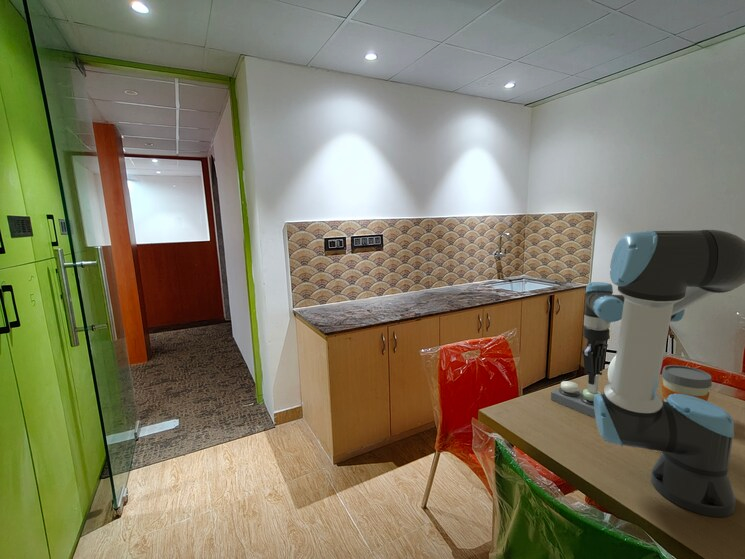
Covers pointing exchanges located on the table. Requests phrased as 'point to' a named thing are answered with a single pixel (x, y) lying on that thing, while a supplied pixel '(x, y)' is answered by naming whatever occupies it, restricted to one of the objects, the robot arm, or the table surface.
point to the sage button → (589, 395)
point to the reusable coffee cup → (685, 382)
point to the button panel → (574, 401)
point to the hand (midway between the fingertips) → (592, 391)
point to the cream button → (569, 387)
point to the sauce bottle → (611, 370)
